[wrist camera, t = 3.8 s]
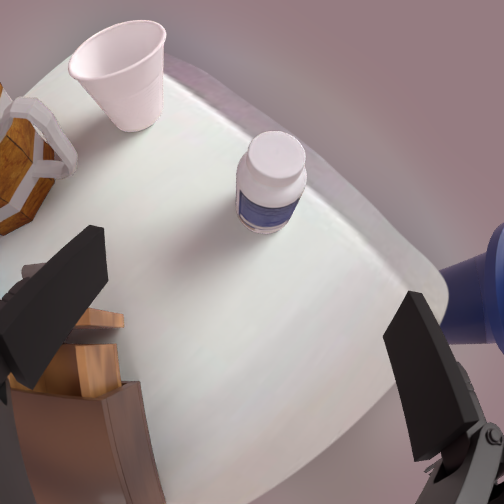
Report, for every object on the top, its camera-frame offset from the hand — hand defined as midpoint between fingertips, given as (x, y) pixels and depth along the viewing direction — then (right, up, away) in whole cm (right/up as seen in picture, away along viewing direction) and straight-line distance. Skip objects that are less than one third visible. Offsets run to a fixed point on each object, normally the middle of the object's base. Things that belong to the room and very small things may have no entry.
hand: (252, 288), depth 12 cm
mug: (-27, +10, +16) cm, 33 cm away
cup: (-13, +18, +19) cm, 30 cm away
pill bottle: (+1, +6, +17) cm, 18 cm away
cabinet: (-15, -17, +10) cm, 25 cm away
